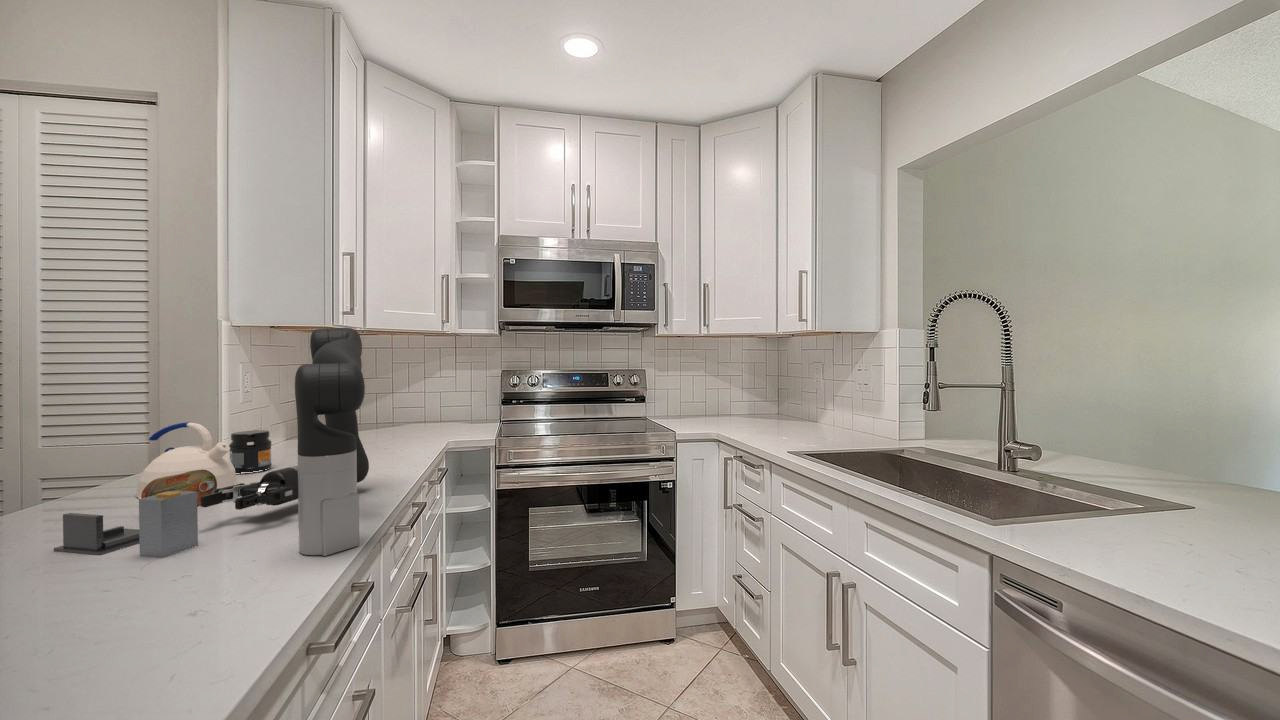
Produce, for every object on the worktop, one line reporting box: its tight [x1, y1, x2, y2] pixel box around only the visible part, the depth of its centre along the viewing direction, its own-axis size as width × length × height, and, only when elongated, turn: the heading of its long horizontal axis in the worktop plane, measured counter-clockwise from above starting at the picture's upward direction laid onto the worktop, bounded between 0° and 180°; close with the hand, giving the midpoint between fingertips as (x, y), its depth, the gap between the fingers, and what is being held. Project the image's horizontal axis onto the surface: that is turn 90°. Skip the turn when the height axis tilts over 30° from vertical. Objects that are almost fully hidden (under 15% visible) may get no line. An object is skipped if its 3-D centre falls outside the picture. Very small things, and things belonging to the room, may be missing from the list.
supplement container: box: [229, 429, 273, 473], centre depth 162 cm, size 10×10×12 cm
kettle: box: [136, 421, 238, 497], centre depth 139 cm, size 20×21×18 cm
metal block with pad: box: [138, 491, 199, 559], centre depth 94 cm, size 6×5×10 cm
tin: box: [141, 470, 217, 506], centre depth 121 cm, size 15×3×8 cm, turn 168°
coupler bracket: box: [53, 512, 140, 556], centre depth 99 cm, size 11×11×6 cm
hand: (219, 503), depth 103 cm, fingers open, 8 cm apart
